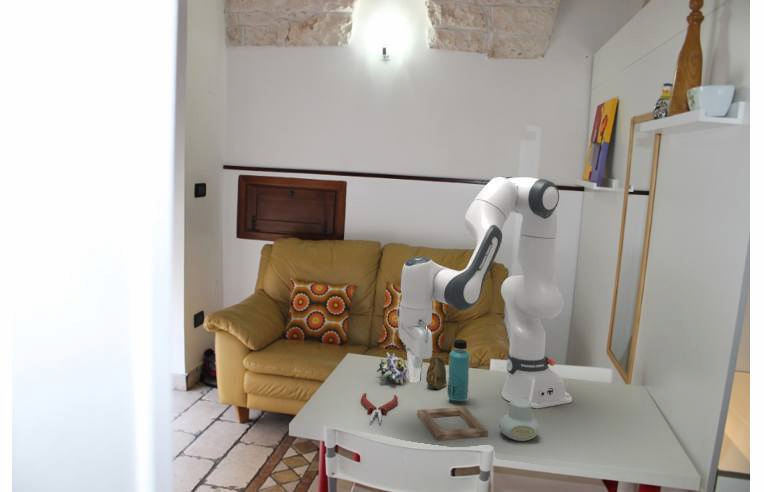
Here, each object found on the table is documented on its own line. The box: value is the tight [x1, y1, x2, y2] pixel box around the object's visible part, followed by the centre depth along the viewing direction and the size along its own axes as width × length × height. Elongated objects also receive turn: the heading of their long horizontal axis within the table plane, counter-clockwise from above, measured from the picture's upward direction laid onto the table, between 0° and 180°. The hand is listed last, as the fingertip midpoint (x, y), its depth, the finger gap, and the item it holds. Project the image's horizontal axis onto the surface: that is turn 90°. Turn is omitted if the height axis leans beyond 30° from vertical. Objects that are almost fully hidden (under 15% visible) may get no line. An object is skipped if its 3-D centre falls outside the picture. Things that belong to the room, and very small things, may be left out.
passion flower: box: [376, 352, 408, 385], centre depth 211 cm, size 11×11×12 cm
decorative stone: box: [425, 356, 447, 390], centre depth 207 cm, size 10×9×4 cm
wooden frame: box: [416, 406, 489, 441], centre depth 177 cm, size 15×17×2 cm
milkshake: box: [404, 347, 424, 383], centre depth 172 cm, size 4×5×10 cm
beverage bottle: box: [447, 338, 471, 402], centre depth 193 cm, size 6×7×20 cm
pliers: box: [360, 392, 399, 425], centre depth 185 cm, size 12×20×3 cm, turn 176°
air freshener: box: [498, 399, 540, 442], centre depth 171 cm, size 11×8×10 cm
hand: (413, 364), depth 172 cm, fingers closed on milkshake, 4 cm apart
